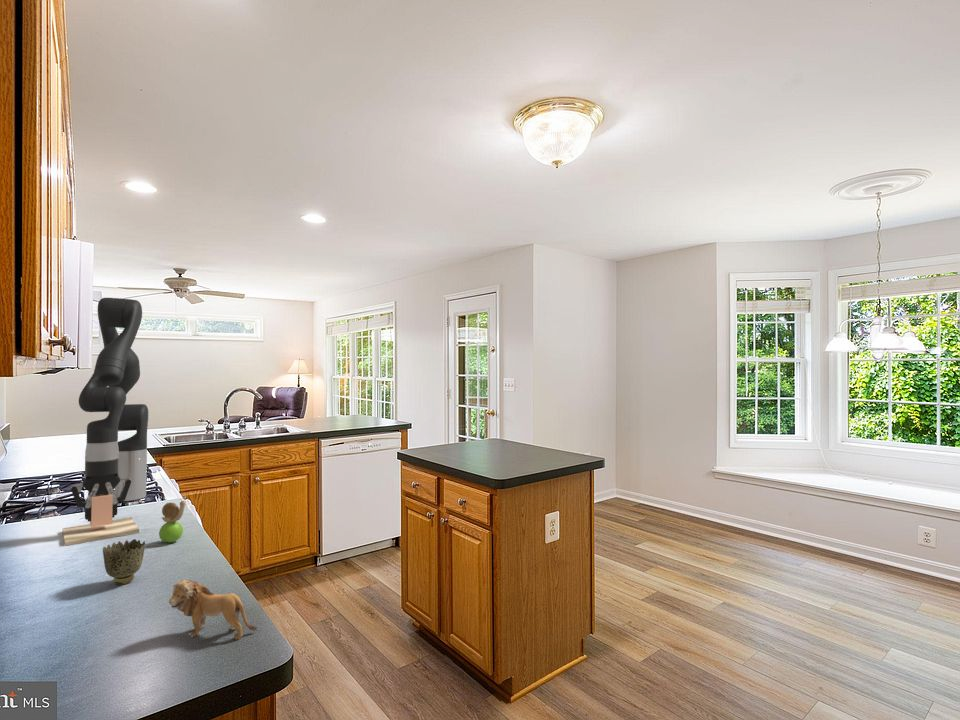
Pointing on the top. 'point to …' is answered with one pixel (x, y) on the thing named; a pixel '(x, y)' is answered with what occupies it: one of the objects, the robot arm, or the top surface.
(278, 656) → the top surface
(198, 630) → the lion figurine
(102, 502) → the terracotta block
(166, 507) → the snail figurine
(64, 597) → the top surface
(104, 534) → the birch board
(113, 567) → the cup
